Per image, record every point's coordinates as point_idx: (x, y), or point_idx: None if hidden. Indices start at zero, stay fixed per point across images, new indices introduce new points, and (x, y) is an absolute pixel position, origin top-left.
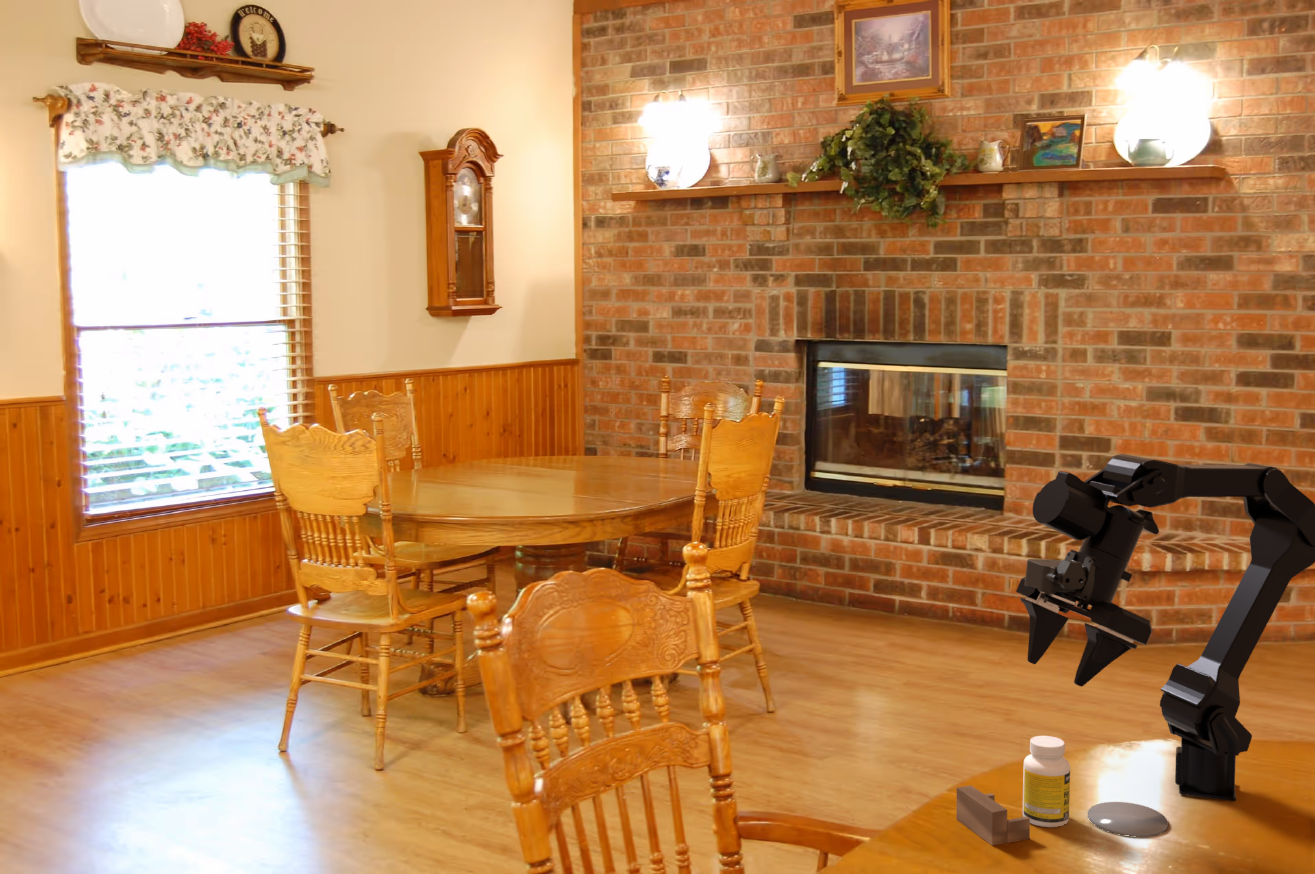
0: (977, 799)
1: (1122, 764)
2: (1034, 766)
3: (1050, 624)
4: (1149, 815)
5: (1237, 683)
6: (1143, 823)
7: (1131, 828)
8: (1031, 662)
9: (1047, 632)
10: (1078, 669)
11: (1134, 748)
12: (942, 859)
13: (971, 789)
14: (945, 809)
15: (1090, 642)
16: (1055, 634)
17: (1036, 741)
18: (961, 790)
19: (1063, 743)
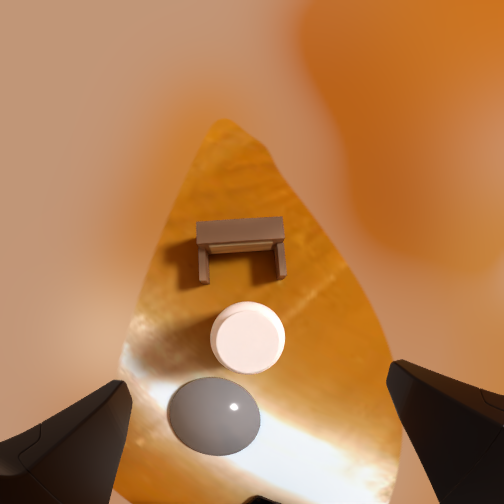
0: (239, 223)
1: (353, 478)
2: (233, 307)
3: (469, 482)
4: (211, 442)
5: None
6: (194, 425)
7: (185, 405)
8: (389, 369)
9: (450, 461)
10: (94, 402)
11: (379, 496)
12: (194, 176)
13: (271, 231)
14: (306, 232)
15: (6, 461)
16: (436, 485)
17: (254, 322)
18: (272, 218)
19: (228, 364)
